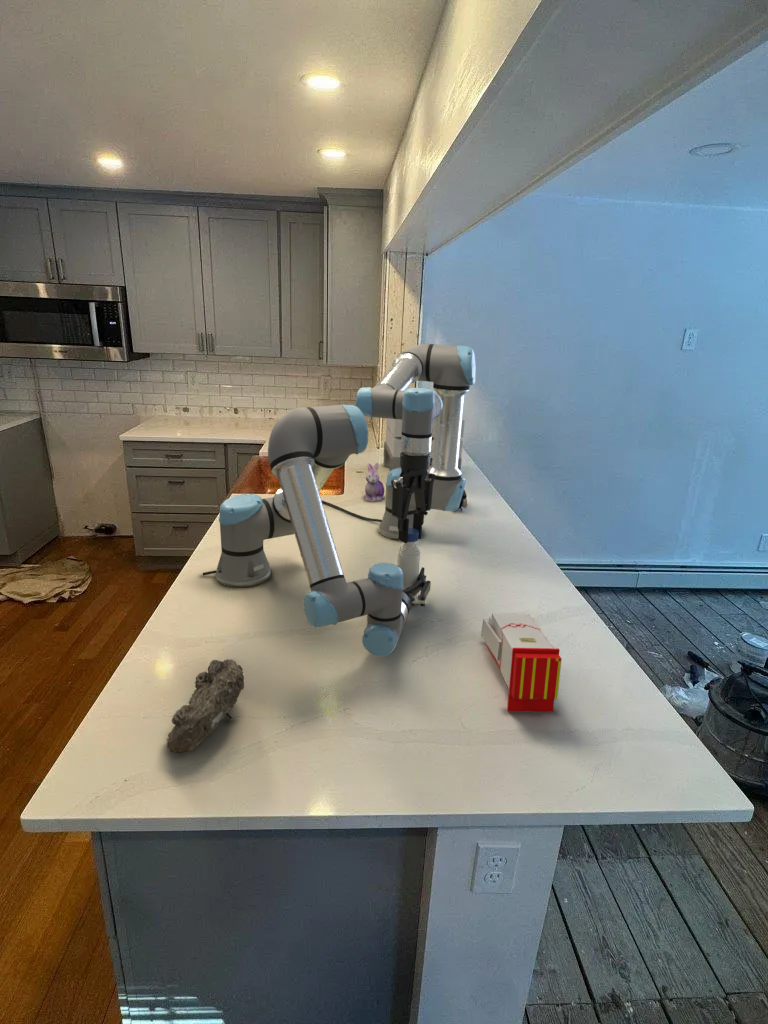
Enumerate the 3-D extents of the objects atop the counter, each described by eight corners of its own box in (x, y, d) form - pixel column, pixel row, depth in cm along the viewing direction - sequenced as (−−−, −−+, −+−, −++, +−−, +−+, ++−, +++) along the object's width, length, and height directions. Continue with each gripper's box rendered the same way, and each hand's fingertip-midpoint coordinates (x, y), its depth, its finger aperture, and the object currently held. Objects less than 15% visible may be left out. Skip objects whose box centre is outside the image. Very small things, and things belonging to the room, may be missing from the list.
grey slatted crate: (382, 463, 289) (386, 382, 275) (445, 464, 293) (451, 384, 279) (390, 482, 257) (394, 392, 243) (460, 483, 261) (468, 394, 247)
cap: (420, 537, 150) (421, 529, 149) (414, 543, 146) (415, 535, 145) (405, 534, 151) (406, 526, 150) (398, 540, 147) (399, 532, 147)
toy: (527, 598, 138) (570, 654, 108) (522, 650, 141) (563, 718, 111) (477, 597, 137) (507, 653, 108) (474, 649, 140) (502, 717, 111)
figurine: (369, 503, 229) (370, 467, 224) (358, 496, 237) (359, 461, 232) (389, 500, 233) (391, 465, 228) (378, 493, 242) (380, 459, 236)
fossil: (192, 660, 117) (244, 628, 112) (224, 691, 120) (276, 661, 115) (142, 746, 98) (202, 712, 93) (182, 779, 101) (242, 748, 96)
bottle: (421, 600, 155) (426, 533, 148) (408, 607, 151) (412, 540, 144) (404, 593, 159) (408, 527, 152) (390, 600, 154) (394, 533, 148)
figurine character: (467, 516, 223) (461, 500, 237) (469, 499, 220) (463, 483, 233) (450, 516, 223) (446, 499, 236) (452, 498, 220) (447, 483, 233)
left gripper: (354, 617, 139) (377, 577, 160) (430, 630, 135) (443, 587, 156) (355, 590, 137) (378, 553, 158) (433, 602, 133) (446, 562, 154)
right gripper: (429, 445, 149) (423, 528, 157) (379, 453, 138) (375, 541, 146) (450, 451, 143) (443, 536, 151) (399, 460, 133) (394, 551, 141)
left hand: (411, 570), depth 157 cm, fingers closed on bottle, 6 cm apart
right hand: (409, 539), depth 149 cm, fingers closed on cap, 4 cm apart
